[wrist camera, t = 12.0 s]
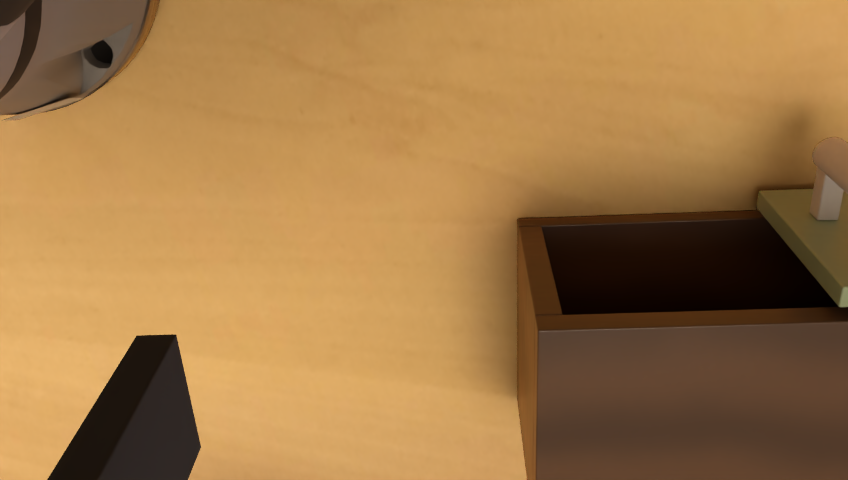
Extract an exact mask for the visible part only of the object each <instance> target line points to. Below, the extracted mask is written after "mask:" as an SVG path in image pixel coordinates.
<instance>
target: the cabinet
mask: <svg viewBox="0 0 848 480" xmlns="http://www.w3.org/2000/svg"><path fill="white" fill-rule="evenodd" d="M517 401H518V409H519V417H520V425H521V434H522V442H523V450H524V458H525V466H526V474H527V480H848V307H839V306H838V305H837V304H836V303H835V302H834V300H833V299H832V298H831V297H830V296H829V294H828V293H827V292H826V291H825V290H824V288H823V287H822V286H821V285H820V284H819V282H818V281H817V280H816V279H815V278H814V276H813V275H812V274H811V273H810V272H809V270H808V269H807V268H806V267H805V265H804V264H803V263H802V262H801V261H800V259H799V258H798V257H797V256H796V255H795V253H794V252H793V251H792V250H791V249H790V247H789V246H788V245H787V244H786V243H785V241H784V240H783V239H782V238H781V237H780V235H779V234H778V233H777V232H776V231H775V229H774V228H773V227H772V226H771V224H770V223H769V222H768V221H767V220H766V218H765V217H764V216H763V215H762V214H761V212H760V211H759V210H756V211H727V212H698V213H670V214H641V215H612V216H584V217H555V218H526V219H518V220H517Z"/></svg>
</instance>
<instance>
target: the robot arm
mask: <svg viewBox="0 0 848 480" xmlns="http://www.w3.org/2000/svg"><path fill="white" fill-rule="evenodd" d="M158 4H159V0H0V115H17V116H14V117H11V118H8V119H4V120H20V119H23V118H26V117H29V116H32V115H35V114H38V113H42V112H47V111H52V110H56V109H59V108H63V107H66V106H69V105H71V104H73V103H75V102H78V101H80V100H82V99H84V98H85V97H87V96H89V95H91V94H92V93H94V92H95V91H96V90H98V89H99V88H101V87H102V86H103V85H105V84H106V83H107V82H109V81H110V80H111V79H113V78H114V77H115V76H117V75H118V74H119V73H120V72H121V71H122V70H123V69H124V68H125V67H126V66H127V65H128V64H129V63H130V62H131V60H132V59H133V58H134V57H135V56H136V54H137V53H138V51H139V50H140V48H141V47H142V45H143V44H144V42H145V40H146V38H147V36H148V34H149V32H150V29H151V27H152V24H153V21H154V19H155V16H156V12H157V8H158ZM1 121H3V120H1ZM200 448H201V445H200V441H199V436H198V432H197V427H196V423H195V418H194V414H193V409H192V405H191V400H190V396H189V391H188V386H187V382H186V377H185V373H184V368H183V364H182V359H181V355H180V350H179V346H178V341H177V337H176V335H145V336H136V338H135V339H134V341H133V343H132V344H131V346H130V348H129V349H128V351H127V352H126V354H125V356H124V357H123V359H122V360H121V362H120V364H119V365H118V367H117V368H116V370H115V372H114V373H113V375H112V377H111V378H110V380H109V381H108V383H107V385H106V386H105V388H104V389H103V391H102V393H101V394H100V396H99V397H98V399H97V401H96V402H95V404H94V406H93V407H92V409H91V410H90V412H89V414H88V415H87V417H86V418H85V420H84V422H83V423H82V425H81V426H80V428H79V430H78V431H77V433H76V434H75V436H74V438H73V439H72V441H71V443H70V444H69V446H68V447H67V449H66V451H65V452H64V454H63V455H62V457H61V459H60V460H59V462H58V463H57V465H56V467H55V468H54V470H53V472H52V473H51V475H50V476H49V478H48V480H188V478H189V475H190V473H191V470H192V468H193V465H194V463H195V460H196V458H197V455H198V453H199V450H200Z"/></svg>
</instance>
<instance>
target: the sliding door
mask: <svg viewBox="0 0 848 480" xmlns="http://www.w3.org/2000/svg"><path fill="white" fill-rule="evenodd" d="M812 158H813V162H814V164H815V165H816V166H817V172H816V177H815V183H814V189H792V190H764V191H759V193H758V200H757V209H758V210H759V211H760V212H761V214H762V215H763V216H764V217H765V218H766V220H767V221H768V222H769V223H770V224H771V226H772V227H773V228H774V229H775V231H776V232H777V233H778V234H779V235H780V237H781V238H782V239H783V240H784V241H785V243H786V244H787V245H788V246H789V247H790V249H791V250H792V251H793V252H794V253H795V255H796V256H797V257H798V258H799V259H800V261H801V262H802V263H803V264H804V265H805V267H806V268H807V269H808V270H809V272H810V273H811V274H812V275H813V276H814V278H815V279H816V280H817V281H818V282H819V284H820V285H821V286H822V287H823V288H824V290H825V291H826V292H827V293H828V294H829V296H830V297H831V298H832V299H833V300H834V302H835V303H836V304H837V305H838V306H839V307H848V143H847V142H845V141H844V140H842V139H841V138H837V137H830V138H827V139H824V140H822V141H821V142H820V143H819V144H818V145H817V146H816V147H815V149H814V151H813V156H812Z"/></svg>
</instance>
